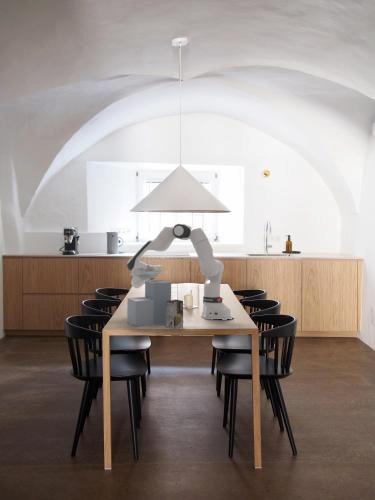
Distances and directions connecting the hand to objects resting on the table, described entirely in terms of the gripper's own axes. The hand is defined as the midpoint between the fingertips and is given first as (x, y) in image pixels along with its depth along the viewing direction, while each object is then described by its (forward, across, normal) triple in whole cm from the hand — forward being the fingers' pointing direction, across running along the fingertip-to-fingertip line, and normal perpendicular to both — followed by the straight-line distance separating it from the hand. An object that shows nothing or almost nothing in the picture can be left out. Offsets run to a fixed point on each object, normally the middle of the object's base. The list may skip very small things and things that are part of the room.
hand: (150, 266), depth 323 cm
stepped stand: (-6, -6, +37) cm, 38 cm away
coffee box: (+9, +4, +46) cm, 47 cm away
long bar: (+4, 0, +5) cm, 6 cm away
